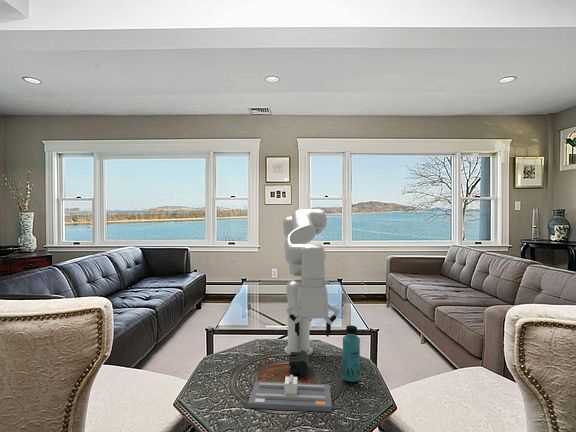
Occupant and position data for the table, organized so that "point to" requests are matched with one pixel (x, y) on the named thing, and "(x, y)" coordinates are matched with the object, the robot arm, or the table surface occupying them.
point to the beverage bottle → (351, 355)
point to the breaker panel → (291, 397)
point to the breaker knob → (290, 385)
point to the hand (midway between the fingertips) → (312, 335)
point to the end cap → (298, 364)
